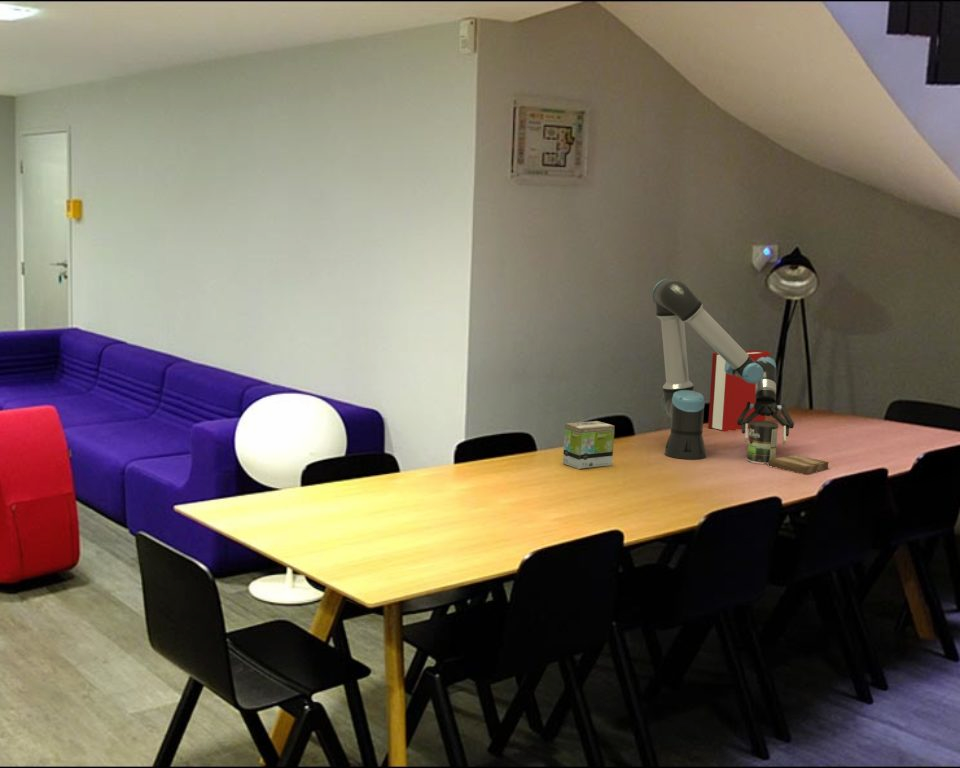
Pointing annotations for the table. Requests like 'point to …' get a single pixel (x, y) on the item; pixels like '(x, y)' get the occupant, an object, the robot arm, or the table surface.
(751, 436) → the coffee can
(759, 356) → the book
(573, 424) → the tea box
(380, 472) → the table surface
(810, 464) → the walnut board
